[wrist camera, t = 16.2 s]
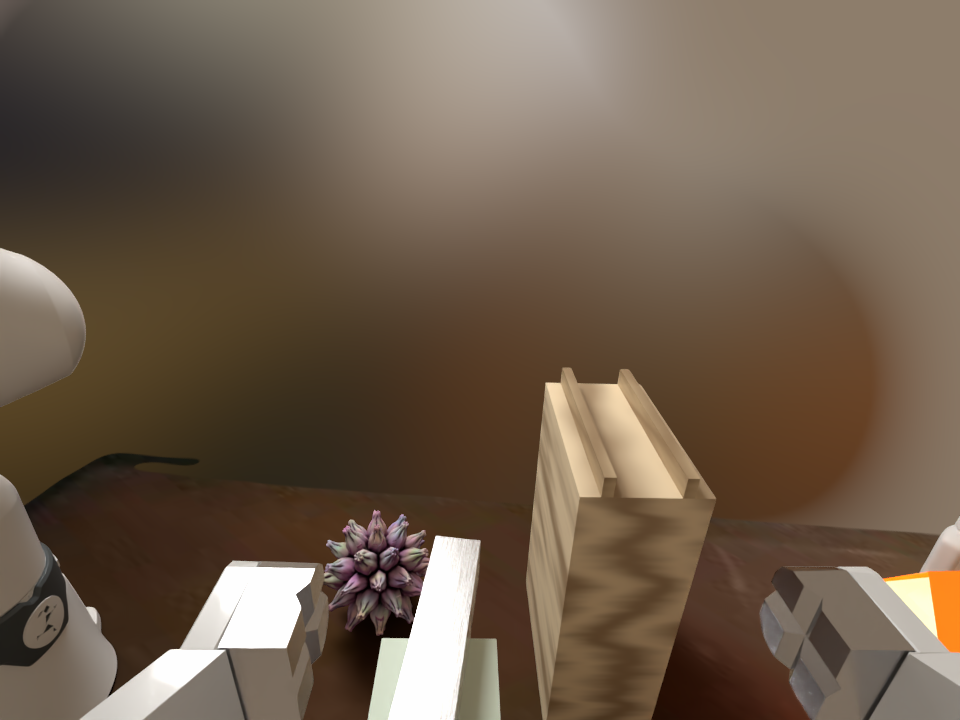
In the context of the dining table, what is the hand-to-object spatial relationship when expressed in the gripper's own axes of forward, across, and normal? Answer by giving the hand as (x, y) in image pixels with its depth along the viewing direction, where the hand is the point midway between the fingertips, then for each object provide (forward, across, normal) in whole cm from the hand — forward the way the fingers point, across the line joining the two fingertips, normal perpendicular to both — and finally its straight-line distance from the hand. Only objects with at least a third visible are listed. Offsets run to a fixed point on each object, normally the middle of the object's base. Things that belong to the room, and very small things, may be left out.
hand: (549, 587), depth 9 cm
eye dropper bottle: (+35, -55, +40) cm, 77 cm away
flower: (+31, +10, +40) cm, 52 cm away
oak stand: (+27, -10, +40) cm, 49 cm away
